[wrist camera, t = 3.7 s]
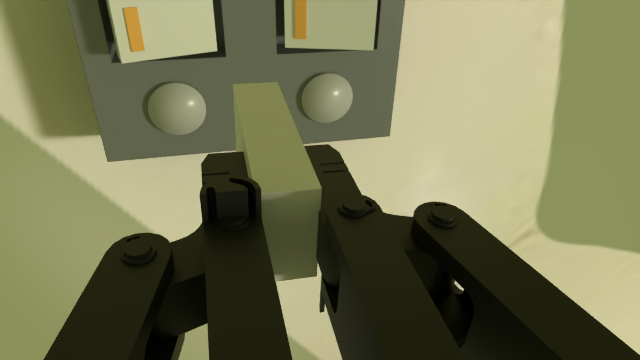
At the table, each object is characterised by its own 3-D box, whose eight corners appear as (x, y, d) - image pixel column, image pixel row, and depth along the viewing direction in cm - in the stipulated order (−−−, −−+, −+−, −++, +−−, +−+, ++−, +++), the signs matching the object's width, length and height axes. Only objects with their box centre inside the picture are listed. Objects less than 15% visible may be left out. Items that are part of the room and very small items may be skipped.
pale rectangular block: (210, 44, 30) (217, 51, 29) (118, 56, 28) (122, 64, 27) (204, -16, 28) (211, -11, 27) (104, -8, 26) (108, -3, 25)
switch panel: (372, 114, 39) (390, 137, 36) (115, 134, 35) (106, 164, 32) (386, -46, 33) (410, -37, 29) (72, -44, 29) (56, -32, 25)
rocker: (372, 43, 31) (373, 51, 30) (287, 41, 31) (285, 48, 30) (376, -15, 29) (378, -10, 28) (286, -17, 29) (283, -13, 28)
